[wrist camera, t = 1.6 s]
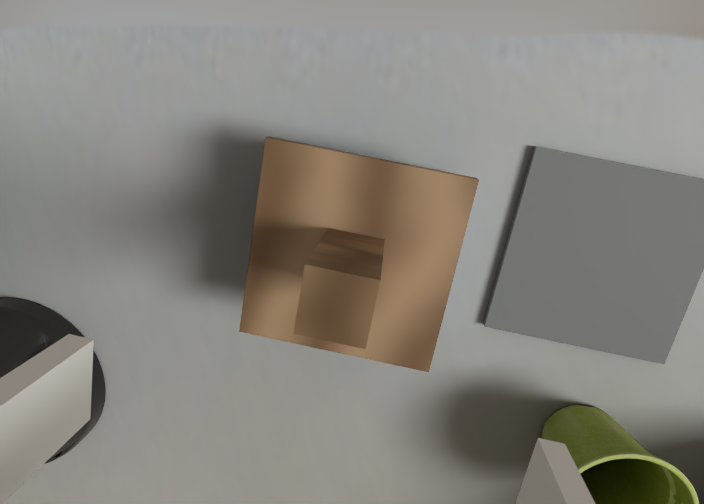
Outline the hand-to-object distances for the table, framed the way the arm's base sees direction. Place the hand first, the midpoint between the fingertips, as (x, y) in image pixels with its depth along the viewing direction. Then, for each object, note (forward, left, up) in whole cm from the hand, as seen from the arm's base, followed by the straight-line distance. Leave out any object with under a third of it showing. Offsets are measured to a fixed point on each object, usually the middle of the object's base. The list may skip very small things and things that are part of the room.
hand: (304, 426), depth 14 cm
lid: (0, 0, -18) cm, 18 cm away
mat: (+18, +2, -24) cm, 30 cm away
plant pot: (+21, -13, -25) cm, 35 cm away
